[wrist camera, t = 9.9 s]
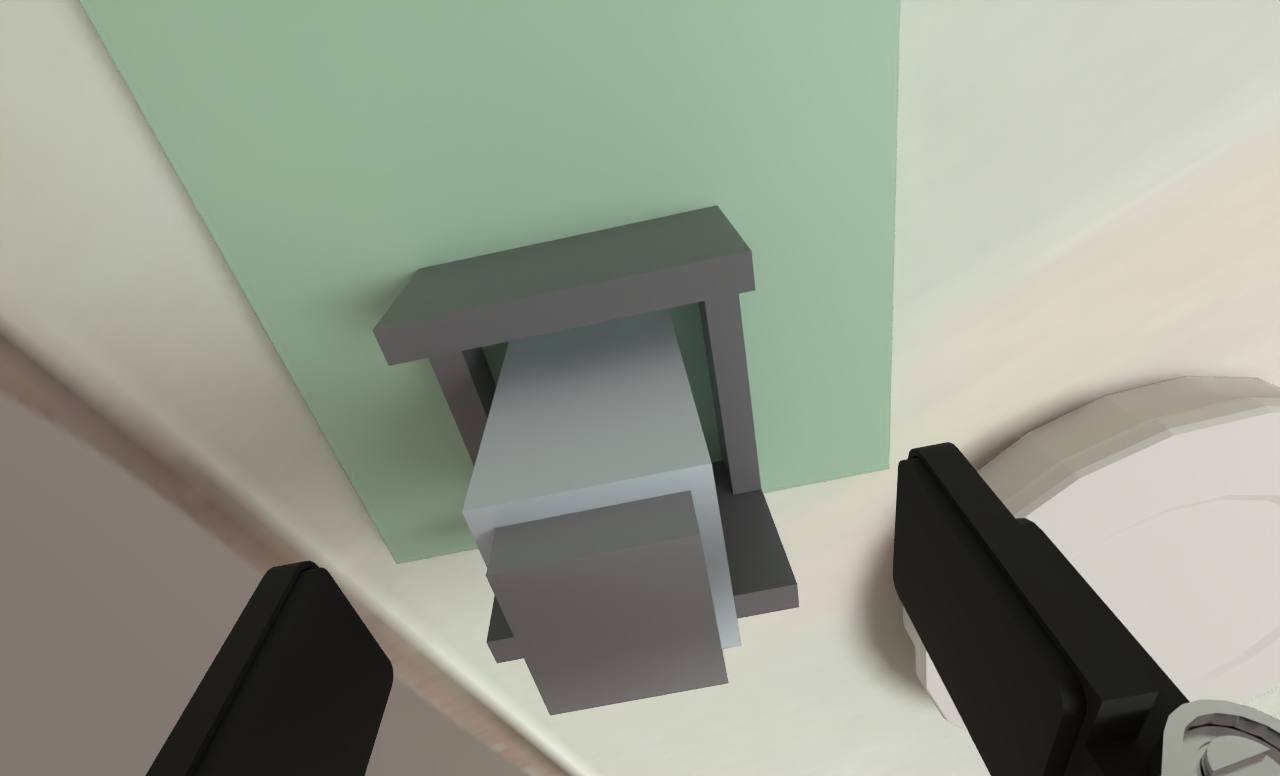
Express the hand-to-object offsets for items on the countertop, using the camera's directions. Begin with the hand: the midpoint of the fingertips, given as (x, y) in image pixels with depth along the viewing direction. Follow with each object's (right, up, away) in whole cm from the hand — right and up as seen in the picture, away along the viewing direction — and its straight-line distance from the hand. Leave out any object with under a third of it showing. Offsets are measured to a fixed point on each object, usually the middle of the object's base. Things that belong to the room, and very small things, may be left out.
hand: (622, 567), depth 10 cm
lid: (+20, -4, +15) cm, 25 cm away
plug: (-1, +3, +7) cm, 7 cm away
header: (-1, +3, +7) cm, 7 cm away
